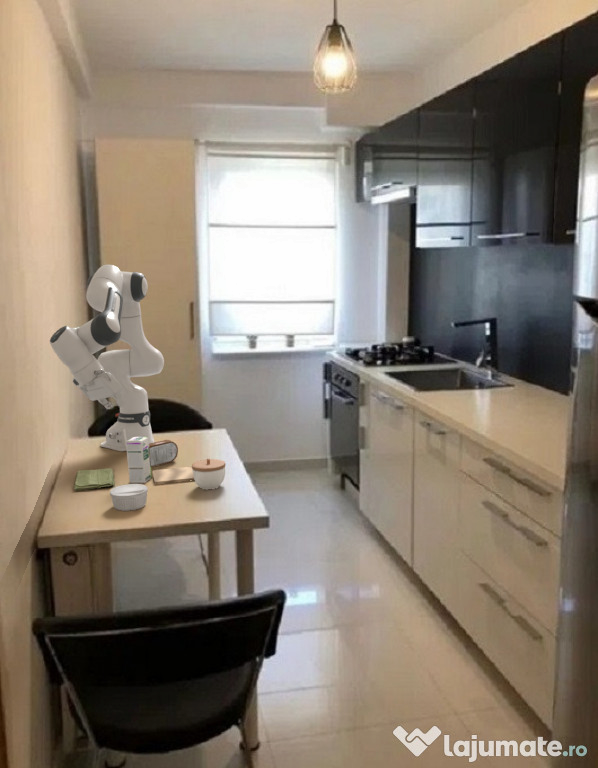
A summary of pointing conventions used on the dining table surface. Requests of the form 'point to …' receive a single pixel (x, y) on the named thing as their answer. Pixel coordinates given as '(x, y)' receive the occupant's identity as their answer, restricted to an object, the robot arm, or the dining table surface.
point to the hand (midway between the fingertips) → (116, 406)
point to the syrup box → (139, 459)
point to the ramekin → (129, 496)
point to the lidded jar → (209, 473)
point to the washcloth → (94, 479)
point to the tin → (162, 452)
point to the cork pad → (172, 475)
